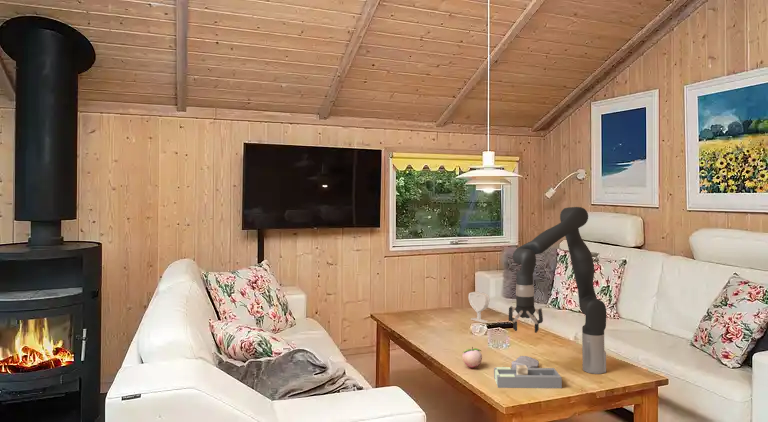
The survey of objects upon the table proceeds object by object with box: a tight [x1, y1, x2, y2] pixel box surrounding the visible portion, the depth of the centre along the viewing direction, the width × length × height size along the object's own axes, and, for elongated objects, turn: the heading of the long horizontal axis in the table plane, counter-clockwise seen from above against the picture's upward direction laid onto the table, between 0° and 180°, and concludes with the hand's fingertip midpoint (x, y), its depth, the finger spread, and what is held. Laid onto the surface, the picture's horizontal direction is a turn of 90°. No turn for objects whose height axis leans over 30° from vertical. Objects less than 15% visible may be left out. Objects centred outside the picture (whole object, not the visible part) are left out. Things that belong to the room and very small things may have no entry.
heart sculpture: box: [468, 291, 490, 324], centre depth 325 cm, size 16×5×18 cm, turn 34°
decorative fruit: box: [462, 346, 483, 369], centre depth 235 cm, size 9×8×10 cm
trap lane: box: [493, 366, 563, 389], centre depth 215 cm, size 26×12×5 cm, turn 86°
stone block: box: [510, 355, 540, 368], centre depth 234 cm, size 12×5×10 cm
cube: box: [516, 365, 528, 375], centre depth 215 cm, size 4×4×4 cm
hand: (525, 331), depth 219 cm, fingers open, 8 cm apart
